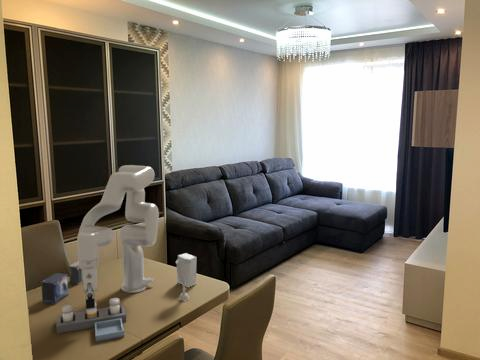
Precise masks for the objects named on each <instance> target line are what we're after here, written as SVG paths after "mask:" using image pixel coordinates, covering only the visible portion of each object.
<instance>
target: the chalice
mask: <svg viewBox="0 0 480 360" xmlns="http://www.w3.org/2000/svg"><path fill="white" fill-rule="evenodd" d="M191 262H192V261H191V260H189V259H179V260H178V259H176V261H175V264H176V275H177V274H178V276H179V278H180V280H181V281H183V285H181V286H182V289H181V290H182V292H181V293H180V295H179V297H178V300H179V299H180V300H187V299H189V298H190V296H189V294H188V293H187V292H186V290H187V288H186V287H185V281H187V279H188V277H189V275H190V272H191V270H190V264H191ZM180 300H179V301H180ZM189 300H190V299H189Z"/></svg>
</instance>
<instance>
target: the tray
mask: <svg viewBox="0 0 480 360" xmlns="http://www.w3.org/2000/svg"><path fill="white" fill-rule="evenodd" d="M123 324H124V322H122V318H119V319H114V320H108V321H102V322H96V323H95V327H94V330H95V332H94V333H95V343H100V342H103V341H109V340H115V339H120V338H124V337H125V329H124V325H123Z"/></svg>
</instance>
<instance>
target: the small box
mask: <svg viewBox="0 0 480 360" xmlns="http://www.w3.org/2000/svg"><path fill="white" fill-rule="evenodd" d="M68 279H69V277H68V274H66V273H60V272H59V273H58V272H55V273H53V274H51V275H50V276H49V277H47V278H45V279H43V280H41V292H42V293H41V298H42V304H46V305H52V306H53V305H56V304H58V303H59V302H60V301H62V300H63V299H64V298H66V297H68V296H69V284H68V283H69V280H68Z"/></svg>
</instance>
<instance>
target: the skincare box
mask: <svg viewBox="0 0 480 360" xmlns="http://www.w3.org/2000/svg"><path fill="white" fill-rule="evenodd" d="M179 259H189V260H191V261H192V262H191V264H190V270H191V272H190V275H189V277H188V279H187V281H185V286H187V287H189V286H191V285H193V284H195V283H196V284H197V263H198V262H197V256H195V255H192V254H189V253H187V252H185V253H182V254H178V255H177V260H179ZM176 283H180V284H182V285H183V281H181V280H180V278H179V276H178V274H177V273H176ZM180 284H179V285H180ZM182 285H181V286H182ZM191 287H192V286H191ZM189 288H190V287H189Z"/></svg>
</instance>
